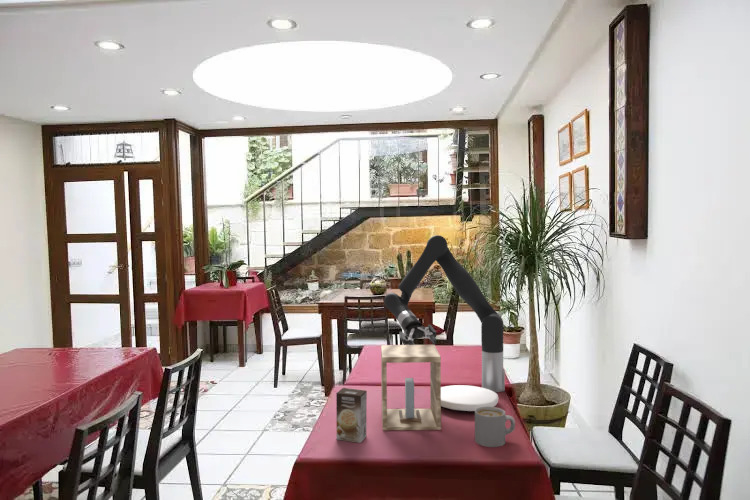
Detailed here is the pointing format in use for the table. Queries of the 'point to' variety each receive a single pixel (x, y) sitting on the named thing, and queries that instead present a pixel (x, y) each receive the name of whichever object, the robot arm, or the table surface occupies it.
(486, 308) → the robot arm
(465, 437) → the table surface
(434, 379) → the shelf
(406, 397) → the grey block
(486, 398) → the plate
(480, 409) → the coffee mug
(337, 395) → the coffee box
